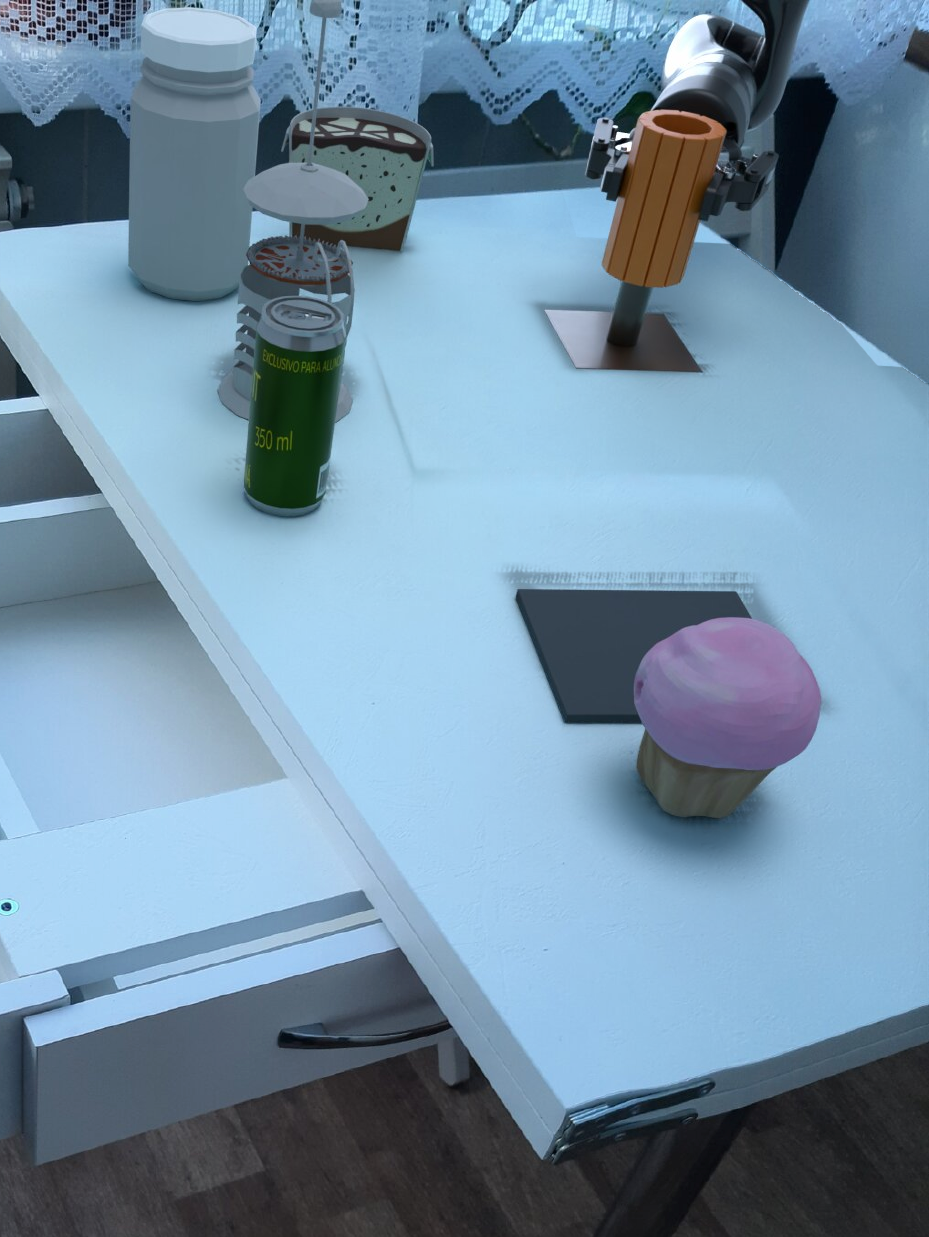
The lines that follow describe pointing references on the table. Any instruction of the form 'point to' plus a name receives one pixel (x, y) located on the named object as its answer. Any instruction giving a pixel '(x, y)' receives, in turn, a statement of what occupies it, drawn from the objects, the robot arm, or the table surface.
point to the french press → (295, 247)
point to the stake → (622, 336)
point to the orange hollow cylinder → (662, 197)
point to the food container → (365, 170)
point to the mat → (609, 641)
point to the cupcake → (721, 713)
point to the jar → (192, 153)
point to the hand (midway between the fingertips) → (660, 196)
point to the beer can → (293, 404)
